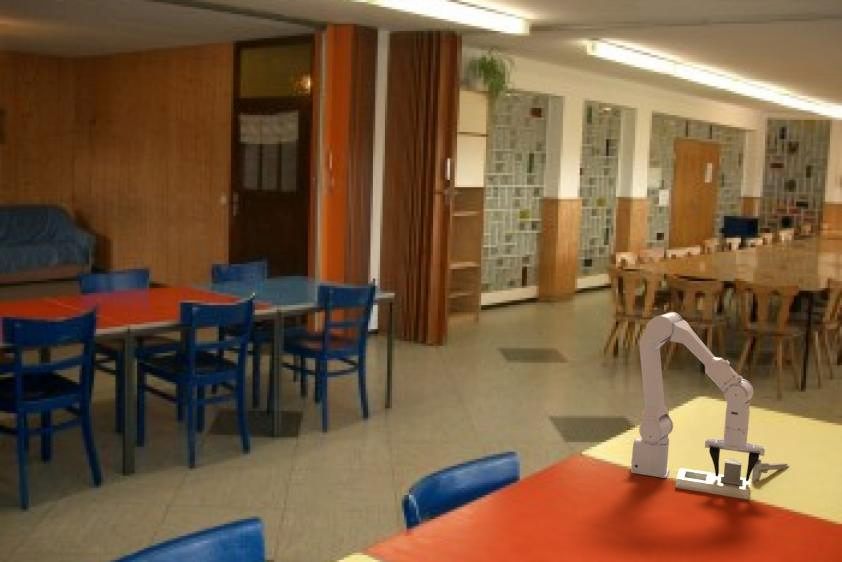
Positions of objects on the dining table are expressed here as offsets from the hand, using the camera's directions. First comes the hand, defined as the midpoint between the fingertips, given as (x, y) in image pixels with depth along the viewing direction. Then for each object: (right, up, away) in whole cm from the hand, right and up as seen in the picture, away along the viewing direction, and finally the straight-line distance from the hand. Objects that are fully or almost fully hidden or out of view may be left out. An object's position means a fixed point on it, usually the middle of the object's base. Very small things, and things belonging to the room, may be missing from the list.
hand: (732, 477), depth 229 cm
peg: (0, -4, 0) cm, 4 cm away
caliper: (+16, -3, +15) cm, 22 cm away
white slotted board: (-4, -3, +2) cm, 6 cm away
